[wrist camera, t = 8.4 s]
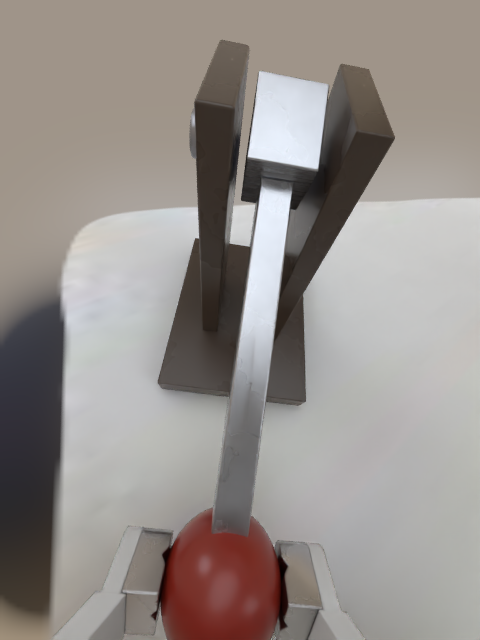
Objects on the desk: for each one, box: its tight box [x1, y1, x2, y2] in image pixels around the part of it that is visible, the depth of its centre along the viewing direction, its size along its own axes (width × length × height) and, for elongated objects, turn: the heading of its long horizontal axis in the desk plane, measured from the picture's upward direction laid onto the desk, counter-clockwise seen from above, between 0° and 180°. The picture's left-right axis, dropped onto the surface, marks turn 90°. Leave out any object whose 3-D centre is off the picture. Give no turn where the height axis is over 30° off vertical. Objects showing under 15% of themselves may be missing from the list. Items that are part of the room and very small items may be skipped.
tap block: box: [158, 40, 395, 406], centre depth 13 cm, size 12×9×14 cm
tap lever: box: [160, 71, 329, 640], centre depth 8 cm, size 17×4×4 cm, turn 174°
